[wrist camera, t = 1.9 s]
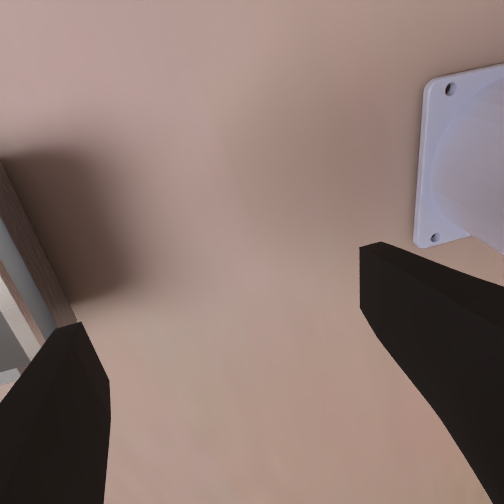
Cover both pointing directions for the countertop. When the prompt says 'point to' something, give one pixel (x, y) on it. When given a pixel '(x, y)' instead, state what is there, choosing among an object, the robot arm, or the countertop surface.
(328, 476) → the countertop surface
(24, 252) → the trolley
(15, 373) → the dock
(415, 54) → the countertop surface
